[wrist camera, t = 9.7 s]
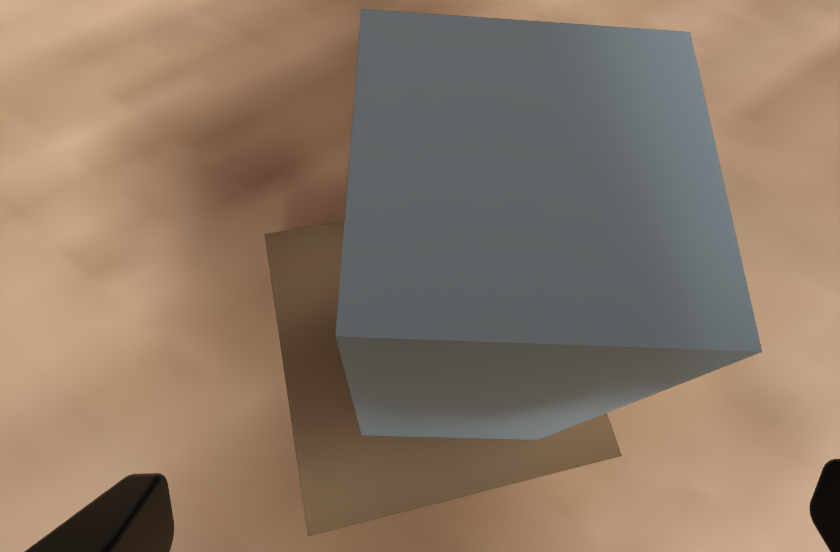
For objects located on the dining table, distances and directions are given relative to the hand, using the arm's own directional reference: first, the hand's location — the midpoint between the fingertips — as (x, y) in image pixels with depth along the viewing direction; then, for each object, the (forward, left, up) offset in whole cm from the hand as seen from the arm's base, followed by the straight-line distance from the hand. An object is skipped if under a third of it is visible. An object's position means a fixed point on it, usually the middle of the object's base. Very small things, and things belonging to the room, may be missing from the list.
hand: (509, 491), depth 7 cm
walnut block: (+2, +4, -12) cm, 13 cm away
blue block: (+2, +4, -8) cm, 9 cm away
